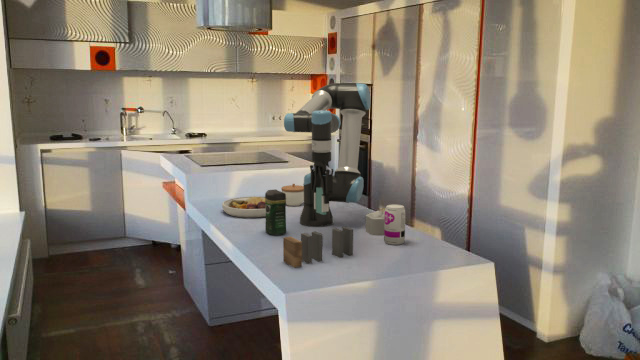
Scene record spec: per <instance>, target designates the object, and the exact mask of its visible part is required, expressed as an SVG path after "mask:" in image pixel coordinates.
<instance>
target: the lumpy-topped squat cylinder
mask: <svg viewBox="0 0 640 360" xmlns="http://www.w3.org/2000/svg"><path fill="white" fill-rule="evenodd" d="M384 224H385V211H383V212H382V211H381V210H376V211H374V212H373V211H372V212H370V213H367V214H366V215H365V233H368V234H369V235H371V236H384Z"/></svg>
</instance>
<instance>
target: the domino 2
mask: <svg viewBox="0 0 640 360" xmlns="http://www.w3.org/2000/svg"><path fill="white" fill-rule="evenodd" d="M321 194H323V190H322V187H316V212H317V213H320V214H322V215H325V214H326V212H322V195H321Z"/></svg>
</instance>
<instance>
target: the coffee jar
mask: <svg viewBox="0 0 640 360" xmlns="http://www.w3.org/2000/svg"><path fill="white" fill-rule="evenodd" d="M264 195H265V196H264V197H265V203H266V217H265V229H264V231H265V232H266V233H267V234H269V235H271V236H281V235H284V234H286V233H287V216H286V215H287V211H286V209H287V207H286V206H287V204H286V194H285V193H283V192H282V191H280V190H278V189H267V191H266V192H265V193H264Z"/></svg>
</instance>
